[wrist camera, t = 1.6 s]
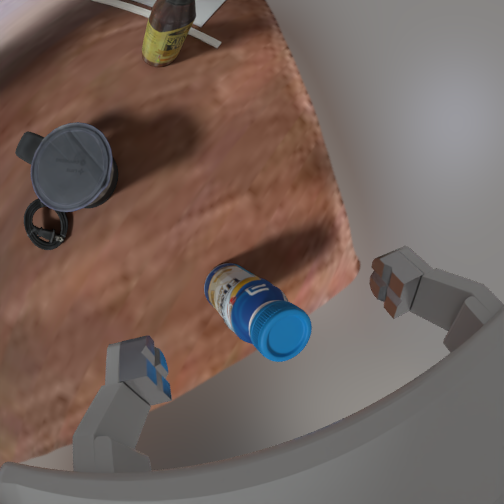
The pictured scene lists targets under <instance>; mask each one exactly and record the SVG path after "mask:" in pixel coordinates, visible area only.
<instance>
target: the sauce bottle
mask: <svg viewBox="0 0 504 504" xmlns="http://www.w3.org/2000/svg"><path fill="white" fill-rule="evenodd" d="M195 18H196V6H195V0H157V1H156V2H155V4H154V5H153V7H152V11H151V14H150V16H149V19H148V23H147V28H146V32H145V37H144V41H143V46H142V57H143V59H144V61H145V62H146V63H147V64H149V65H151V66H154V67H162V66H165V65H168V64H169V63H171V62H172V61H174V59H175V58H176V57H177V55H178V54H179V52H180V49H181V47H182V45H183V43H184V41H185V39H186V36H187V34H188V32H189V30H190V28H191V26H192V24H193V22H194V20H195Z"/></svg>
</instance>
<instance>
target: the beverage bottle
mask: <svg viewBox="0 0 504 504" xmlns="http://www.w3.org/2000/svg"><path fill="white" fill-rule="evenodd" d="M204 291H205V296H206V298H207V300H208V301H209V303H210V304H211V305H212V306H213V307H214V308H215V309H216V310H217V311H218V312H219V314H220V315H221V316H222V317H223V319H224V322H225V323H226V325H227V326H228V327H229V328H230V329H231V330H232V331H233V332H234V333H235V334H236V335H237V336H238V337H239V338H240V339H242V340H243V341H245V342H248V343H251V344H253V345H254V346H255V347H256V348H257V350H258V351H259V352H260V353H261V354H262V355H263V356H264V357H266V358H267V359H269V360H272V361H276V362H282V361H286V360H289V359H291V358H293V357H295V356H296V355H297V354H299V353H300V352H301V351H302V350H303V349H304V347H305V346H306V344H307V343H308V340H309V338H310V335H311V321H310V318H309V317H308V315H307V314H306V313H305V312H304V311H303V310H302V309H300V308H299V307H297V306H295V305H294V304H292V303H290V302H289V301H288V299H287V298H286V296H285V294H284V293H283V292H282V291H281V290H280V289H279V288H277V287H275V286H273V285H272V284H271V283H270V282H268V281H267V280H265V279H263V278H259V277H258V276H256V275H254V274H252V273H251V272H249V271H247V270H245V269H244V268H242V267H241V266H239V265H237V264H233V263H226V264H222V265H219V266H217V267H216V268H214V269H213V270H212V271H211V272H210V273H209V275H208V276H207V278H206V281H205V285H204Z"/></svg>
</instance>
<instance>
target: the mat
mask: <svg viewBox="0 0 504 504" xmlns="http://www.w3.org/2000/svg"><path fill="white" fill-rule="evenodd" d="M132 1H135V2H138V3H141V4H144V5H147V6H150V7H153V5H154V4H155V2H156V1H157V0H132ZM224 1H225V0H195V6H196V18H195V20H194V22H193V24H195V25H197V26H199V27H202V26H203V24H204V23H205V22H206V21H207V20H208V19H209V18H210V16H211V15H212V14H213V13H214V12H215V11H216V10H217V9H218V8H219V7H220V6H221V5H222V4H223V3H224Z"/></svg>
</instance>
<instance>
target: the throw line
mask: <svg viewBox="0 0 504 504" xmlns="http://www.w3.org/2000/svg"><path fill="white" fill-rule="evenodd" d="M91 1H94V2H99V3H102V4H106V5H110V6H113V7H117V8H120V9H123V10H127V11H130V12H133V13H136V14H139V15H142V16H144V17H147V18H149V16H150V14H151V11H150V10H147V9H144V8H141V7H138V6H135V5H132V4H129V3H126V2H122V1H119V0H91ZM188 34H189V35H191V36H193V37H195V38H197V39H199V40H201V41H203V42H205V43H207V44H209V45H211V46H213V47H215V48H218V47H219V45H220V44H221V43H222V42H220V41H218V40H216V39H214V38H212V37H210V36H208V35H206V34H204V33H202V32H200V31H198V30H196V29H194V28H192V27H191V28H190V30H189V32H188Z"/></svg>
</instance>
